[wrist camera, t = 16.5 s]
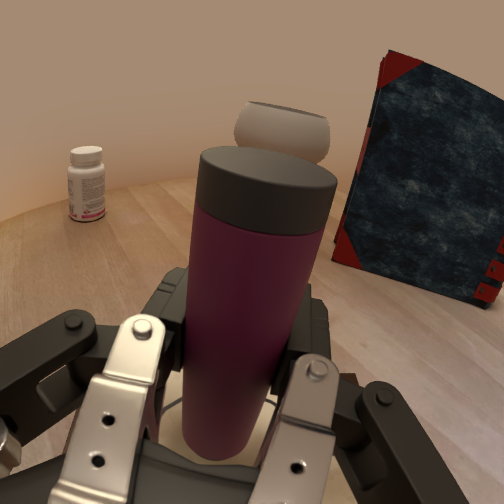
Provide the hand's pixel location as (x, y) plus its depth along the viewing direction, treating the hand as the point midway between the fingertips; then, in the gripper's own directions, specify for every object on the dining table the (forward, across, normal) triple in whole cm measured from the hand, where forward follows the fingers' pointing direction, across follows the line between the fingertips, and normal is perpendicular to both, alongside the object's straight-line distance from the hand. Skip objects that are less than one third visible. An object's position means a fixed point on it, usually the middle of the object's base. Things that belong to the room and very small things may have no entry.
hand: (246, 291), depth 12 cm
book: (+24, -21, +10) cm, 33 cm away
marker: (-3, 0, +7) cm, 8 cm away
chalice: (+37, +1, +10) cm, 38 cm away
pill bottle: (+21, +22, +10) cm, 32 cm away
